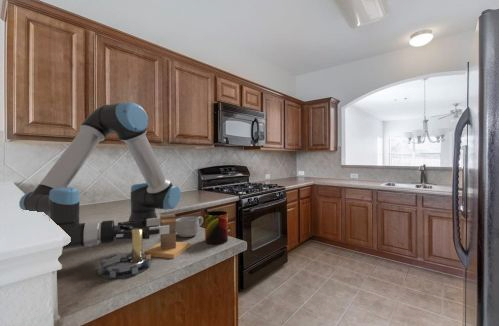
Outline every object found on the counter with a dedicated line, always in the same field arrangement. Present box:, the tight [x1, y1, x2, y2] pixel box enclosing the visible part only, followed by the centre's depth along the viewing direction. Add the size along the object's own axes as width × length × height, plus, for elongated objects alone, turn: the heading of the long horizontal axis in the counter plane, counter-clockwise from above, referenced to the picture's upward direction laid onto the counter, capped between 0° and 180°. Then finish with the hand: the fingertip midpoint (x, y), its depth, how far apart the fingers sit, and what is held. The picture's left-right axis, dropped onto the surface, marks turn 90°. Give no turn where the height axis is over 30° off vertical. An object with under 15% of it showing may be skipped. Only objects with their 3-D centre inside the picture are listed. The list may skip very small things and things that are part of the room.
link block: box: [159, 213, 177, 250], centre depth 90 cm, size 5×5×12 cm
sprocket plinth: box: [99, 265, 151, 280], centre depth 75 cm, size 14×14×1 cm
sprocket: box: [97, 228, 152, 277], centre depth 75 cm, size 15×15×12 cm
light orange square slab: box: [143, 241, 191, 259], centre depth 90 cm, size 12×12×2 cm
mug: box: [204, 210, 229, 246], centre depth 103 cm, size 10×14×12 cm
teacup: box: [176, 215, 204, 238], centre depth 110 cm, size 14×11×8 cm
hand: (166, 224), depth 89 cm, fingers open, 13 cm apart
